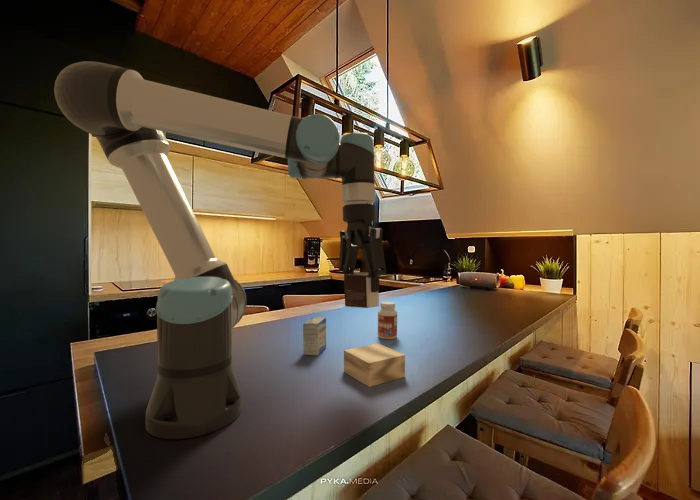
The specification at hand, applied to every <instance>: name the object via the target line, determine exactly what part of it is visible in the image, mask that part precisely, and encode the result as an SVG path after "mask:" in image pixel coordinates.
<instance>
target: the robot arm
mask: <svg viewBox="0 0 700 500" xmlns="http://www.w3.org/2000/svg"><path fill="white" fill-rule="evenodd" d="M53 91H54V97H55V101H56V103H57V106H58V108H59V109H60V111H61V112H62V114H63V115H64V116H65V118H66V119H67V120H69V122H71V123H72V124H73V125H74V126H75V127H77V128H79V129H81V130H82V131H84V132H86V133H87V134H90V135H91V136H93V137H95V138H96V139H97V141H98V143H99V145H100V147H101V149H102V151H103V152H104V153H103V154H104V156H105V158H106V159H107V162H108V163H109V164H110V165H112V166H114V167H116V168H119V169H121V170H122V172H123V173H124V176H125V177H126V180H127V182H128V184H129V186H130V187H131V190H132V192H133V194H134V196H135V197H136V200H137V202H138V203H139V206H140V208H141V210H142V211H143V214H144V216H145V218H146V220H147V222H148V224H149V226H150V228H151V230H152V232H153V234H154V236H155V238H156V240H157V241H158V244H159V246H160V248H161V250H162V253H163V254H164V256H165V258H166V260H167V263H168V264H169V266H170V268H171V269H172V271H173V274H174V279H173V280H172V281H169V282H167V283H165V284H163V285H162V286H161V287H160V288H159V290H158V294H157V301H156V306H155V311H156V327H157V328H156V331H157V332H156V334H157V335H156V341H157V343H156V345H157V377H156V381H155V384H154V387H153V389H152V392H151V396H150V397H149V401H148V404H147V407H146V410H145V417H144V418H145V423H144V424H145V426H144V427H145V430H146V432H147V434H149V435H151V436H153V437H155V438H159V439H164V440H183V439H191V438H195V437H196V438H197V437H200V436H203V435H204V436H205V435H207V434H210V433H213V432H216V431H218V430H220V429H223V428H225V427H226V426H228V425H229V424H230V423H232V422H234V421H235V420H236V418H238V417H239V416H240V414H241V413H242V410H243V395H242V391H241V389H240V388H241V387H240V385H239V383H238V380H237V377H236V374H235V371H234V368H233V365H232V364H233V360H232V359H233V357H232V356H233V354H232V352H233V351H232V350H233V349H232V348H233V346H232V345H233V341H232V340H233V339H232V338H233V337H232V336H233V333H232V332H233V331H232V330H233V329H234V328H235V326H236V325H237V324H238V323H239V322H240V321H241V320H242V318H243V316H244V314H245V312H246V309H247V295H246V292H245V289H244V287H243V286H242V284H241V283H240V282H238V280H237V279H236V278H234V276H233V274H232V272H231V270H230V267H229V265H228V264H227V261H224V260H220V259H218V258H217V257H216V256H215V254H214V252H213V249H212V247H211V245H210V244H209V241H208V239H207V237H206V235H205V233H204V231H203V229H202V227H201V225H200V223H199V221H198V219H197V216H196V215H195V212H194V210H193V208H192V207H191V204H190V202H189V201H188V198H187V196H186V194H185V192H184V190H183V187H182V186H181V184H180V182H179V180H178V177H177V175H176V173H175V171H174V169H173V167H172V165H171V163H170V161H169V159H168V155H169V153H170V150H171V145H170V143H169V141H168V138H166V136H167V135H166V134H167V133H169V134H174V135H178V136H182V137H188V138H192V139H196V140H201V141H206V142H209V143H210V142H211V143H214V144H219V145H224V146H227V147H232V148H238V149H242V150H246V151H252V152H257V153H261V154H266V155H270V156H275V157H279V158H284V159H287V171H288V175H289V177H290V178H292V179H293V178H294V179H302V180H306V179H341V201H342V204H344V205H343V206H342V220H343V223H347V227H346V229H345V230H340V232H339V239H340V246H339V263H338V271H339V272H342V274H343V275H345V274H350V273H357V271H356V270H355V268H356V264H357V259H358V255H359V250H361V253H362V255H363V260H364V262H365V263H364V264H365V266H366V270H367V271H366V272H368V275H367V276H366V288H367V307H368V308H367V309H371V308H377V307H380V304H379V303H380V299H379V297H380V296H379V294H380V293H379V292H380V277H381V276H382V275H386V274H387V267H386V261H385V252H384V244H383V232H384V231H383V228H381V227H379V228H378V227H377V228H375V227H374V226H373V222H375V221H376V219H377V212H376V210H377V209H376V207H377V206H376V205H375V204H374V203H375V202H376V189H375V187H376V185H375V184H376V183H375V157H376V155H375V147H374V139H373V138H372V136H371V135H370V134H368V133H366V132H353V133H351V132H350V133H346V134H344V135H342V136H341V137H340V131H339V128H338V126H337V124H336V122H334V120H332V118H331V117H329V116H327V115H325V114H322V113H313V114H310V115H307V116H305V117H304V118H303V117H298V116H294V115H289V114H286V113H281V112H277V111H274V110H273V111H272V110H269V109H265V108H260V107H258V106H257V107H256V106H252V105H250V104H249V105H248V104H246V103H245V104H244V103H241V102H237V101H232V100H229V99H225V98H220V97H216V96H212V95H208V94H205V93H201V92H197V91H196V92H195V91H191V90H188V89H183V88H179V87H175V86H171V85H169V84H164V83H159V82H156V81H151V80H147V79H144V78H143V76H142V75H141V74H140V73H139V72H138V71H137V70H134V69H130V68H127V67H122V66H119V65H118V66H117V65H113V64H111V63H104V62H99V61H86V60H85V61H79V62H75V63H71V64H69V65H67V66H65V67H64V68H63V69H62V70H61V71H60V72H59V74H58V75H57V77H56V79H55V81H54V88H53Z"/></svg>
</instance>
